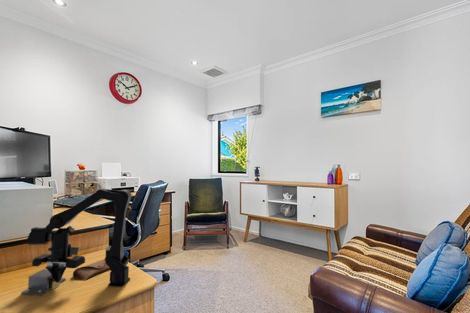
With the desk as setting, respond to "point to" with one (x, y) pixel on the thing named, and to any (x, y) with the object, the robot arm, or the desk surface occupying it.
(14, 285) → the desk surface
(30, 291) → the flanged grey block
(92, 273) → the sunglasses case
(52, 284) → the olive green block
